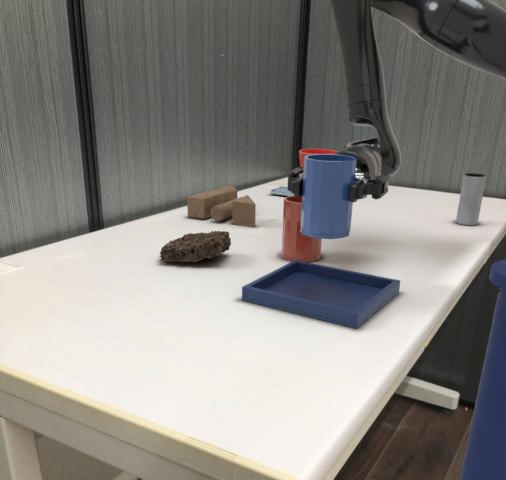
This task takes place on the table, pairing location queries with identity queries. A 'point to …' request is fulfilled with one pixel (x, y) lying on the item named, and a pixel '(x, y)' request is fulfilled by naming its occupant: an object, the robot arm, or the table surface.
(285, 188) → the smartphone
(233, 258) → the table surface
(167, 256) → the dark brown rock
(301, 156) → the flower pot
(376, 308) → the blue tray
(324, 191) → the blue cup
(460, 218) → the grey hollow tube
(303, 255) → the red cup
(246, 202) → the wooden block set
